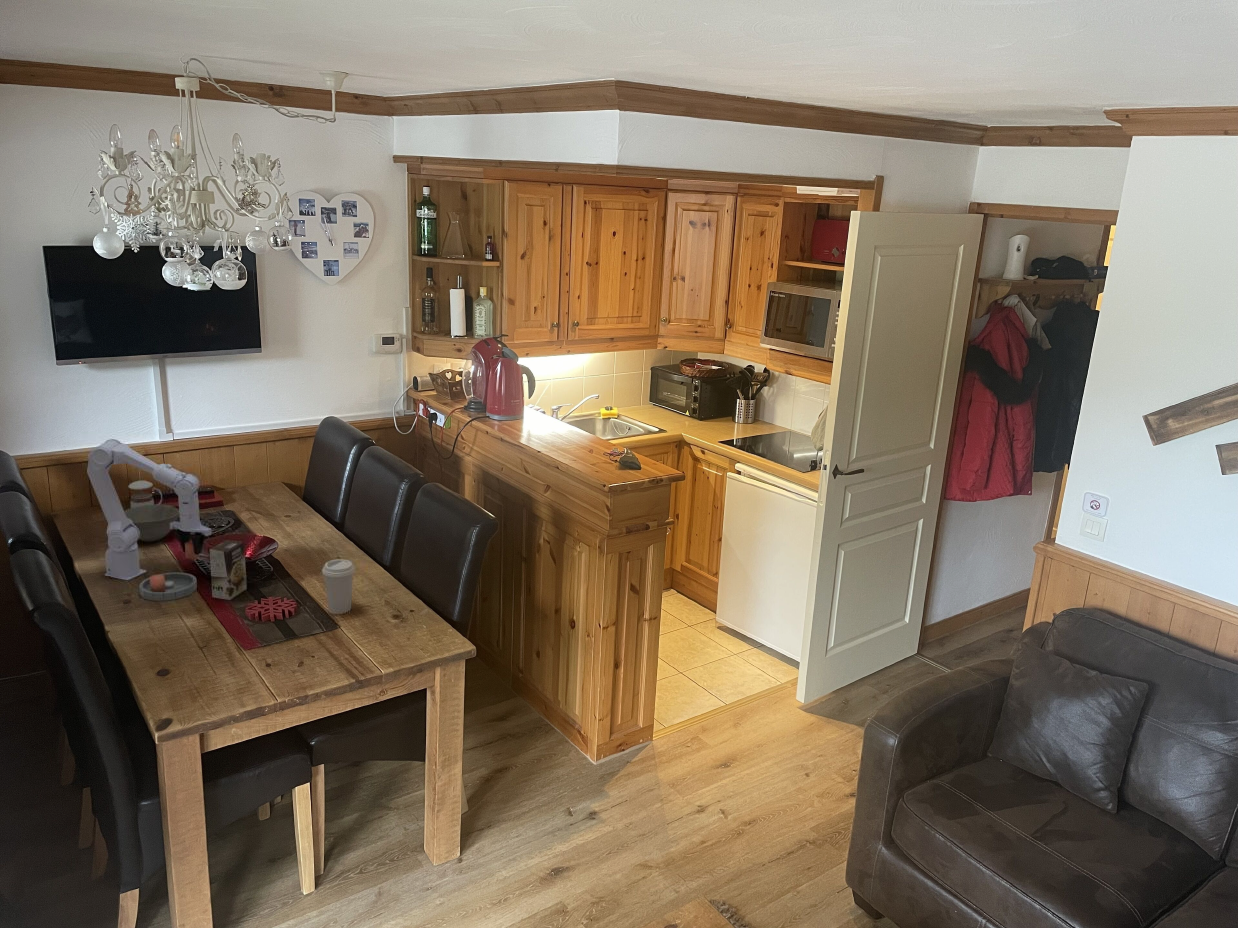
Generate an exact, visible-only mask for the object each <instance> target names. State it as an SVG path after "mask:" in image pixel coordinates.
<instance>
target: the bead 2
mask: <svg viewBox="0 0 1238 928" xmlns="http://www.w3.org/2000/svg"><path fill="white" fill-rule="evenodd" d="M198 558H200V554H198V555H195V553H194V546H193V542H192V540H191V539H190V540H189V541H186V542H185V559H188V560H197V559H198Z"/></svg>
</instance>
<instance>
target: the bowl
mask: <svg viewBox="0 0 1238 928" xmlns="http://www.w3.org/2000/svg"><path fill="white" fill-rule="evenodd" d="M124 513H125V515H126V517H127V518H129V519H131V520H132V522H133V524H134V525H135V526H136V527H137V528H138V529H139V531H140V537H139V539H138V540H140V541H141V542H147V543H151V542H155V541H156V542H157V541H158V540H161V539H163V538H164V537H166V536H167V535H168V534H169V533H170V532H171V530H172V529H170V523H172V522H174V521H175V522H177V520H178V518H179V517H180V514H179V508H177V507H174V506H172V505H168V504H160V505H159V504H158V505H157V504H154V505H145V506H139V507H134V508H131V507H130V508H128V509H127V508H126V510H124Z"/></svg>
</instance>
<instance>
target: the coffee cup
mask: <svg viewBox="0 0 1238 928" xmlns="http://www.w3.org/2000/svg"><path fill="white" fill-rule="evenodd" d="M355 571H356V568H355V566H354V564H353V562H352V561H351V560H348V559H337V558H336V559H332V560H329V561H327V562H325V564H324V566H323V568H322V569H321V572H322V574H323V576H324V577H323V578H324V585H325V591H326V601H327V608H328V612H329V613H330V614H333V615H344V614H343V613H345V614H347V613H349V612H350V611H351V610H352V597H353V582H354V581H353V580H354V572H355ZM348 611H349V612H348ZM346 612H347V613H346Z"/></svg>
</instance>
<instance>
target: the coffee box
mask: <svg viewBox="0 0 1238 928" xmlns="http://www.w3.org/2000/svg"><path fill="white" fill-rule="evenodd" d="M209 561H210V563H209V564H210V578H211V579H210V580H211V595H212V598H216V599H221V600H228V601H230V600H233V599H234V598H235V597H237V596H238V595H239V594H241V593H242V592H244V591H246V590H247V586H248V585H247V571H246V552H245V542H244V541H239V540H229V539H226V540H224V541H222V542H220V543H218V544H217V545H214V546H213V547H211V548H209Z"/></svg>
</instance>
